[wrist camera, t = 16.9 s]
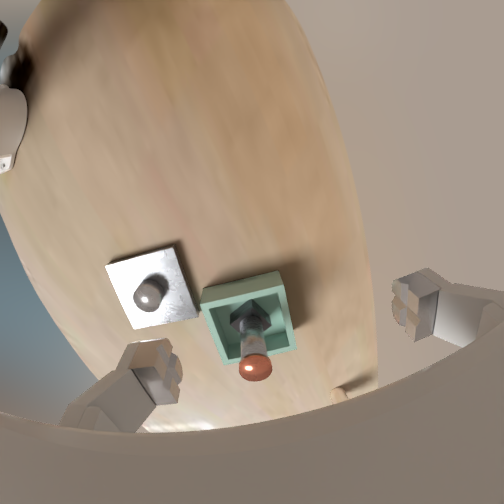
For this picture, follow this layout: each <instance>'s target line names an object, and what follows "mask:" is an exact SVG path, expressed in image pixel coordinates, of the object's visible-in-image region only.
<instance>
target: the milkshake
mask: <svg viewBox="0 0 504 504" xmlns="http://www.w3.org/2000/svg"><path fill="white" fill-rule="evenodd" d="M330 397H331V401H332V405H333V404H336V403H339V402H343V401H346V400H349V398H348V396H347V395H346V393H345V391H344V389H343V388H341V387H338V388H335V389H333V390H332V391H331V392H330Z"/></svg>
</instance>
